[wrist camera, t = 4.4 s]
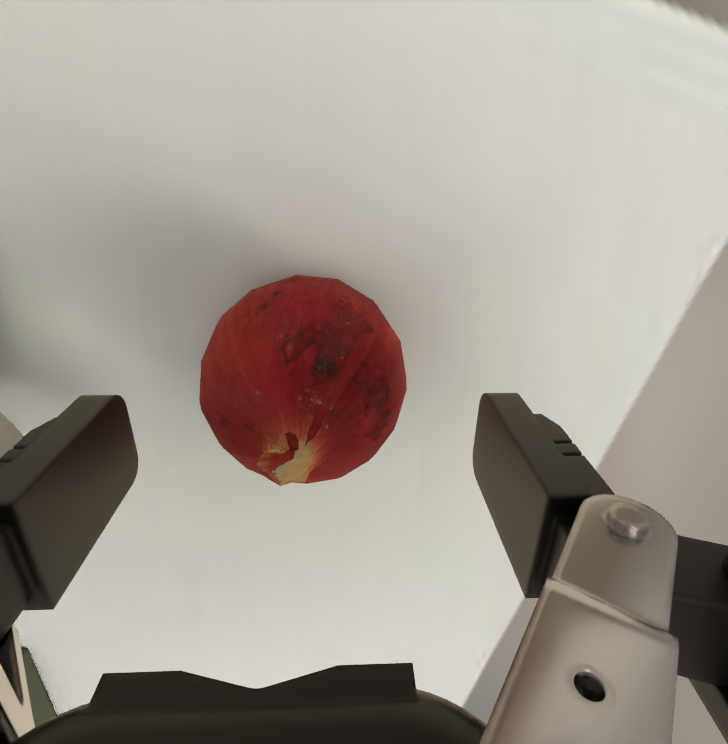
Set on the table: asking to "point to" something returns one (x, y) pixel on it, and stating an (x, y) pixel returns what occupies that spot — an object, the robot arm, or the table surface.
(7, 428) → the teacup
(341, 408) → the pomegranate
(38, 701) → the notebook
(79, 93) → the table surface
